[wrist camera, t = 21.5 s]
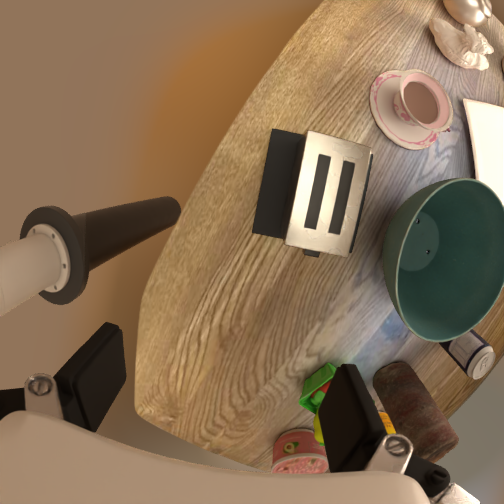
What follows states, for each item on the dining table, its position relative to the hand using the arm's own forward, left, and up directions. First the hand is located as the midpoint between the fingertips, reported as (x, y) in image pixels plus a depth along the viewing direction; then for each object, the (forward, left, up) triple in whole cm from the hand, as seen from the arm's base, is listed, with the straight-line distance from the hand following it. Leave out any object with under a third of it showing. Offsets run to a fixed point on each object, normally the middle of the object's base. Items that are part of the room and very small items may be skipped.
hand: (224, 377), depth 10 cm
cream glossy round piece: (+28, +50, -25) cm, 63 cm away
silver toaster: (+6, +8, -24) cm, 26 cm away
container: (+16, -37, -25) cm, 48 cm away
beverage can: (+36, -8, -25) cm, 45 cm away
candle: (+28, -18, -25) cm, 42 cm away
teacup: (+17, +23, -25) cm, 38 cm away
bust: (+25, +38, -25) cm, 52 cm away
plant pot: (+22, +5, -25) cm, 34 cm away
